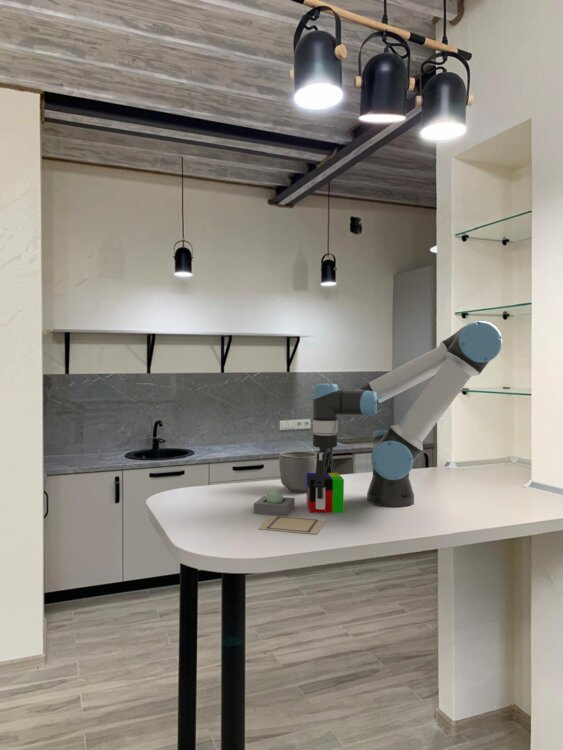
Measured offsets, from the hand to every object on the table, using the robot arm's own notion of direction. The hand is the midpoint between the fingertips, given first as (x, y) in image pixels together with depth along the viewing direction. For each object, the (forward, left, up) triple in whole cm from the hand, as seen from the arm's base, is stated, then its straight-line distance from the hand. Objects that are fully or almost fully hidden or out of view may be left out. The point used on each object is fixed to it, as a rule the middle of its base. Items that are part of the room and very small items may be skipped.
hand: (324, 503), depth 169 cm
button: (+14, +7, 0) cm, 16 cm away
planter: (+13, -20, -2) cm, 24 cm away
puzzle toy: (0, 0, -2) cm, 2 cm away
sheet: (+5, +20, -1) cm, 21 cm away
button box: (+14, +7, -1) cm, 16 cm away
